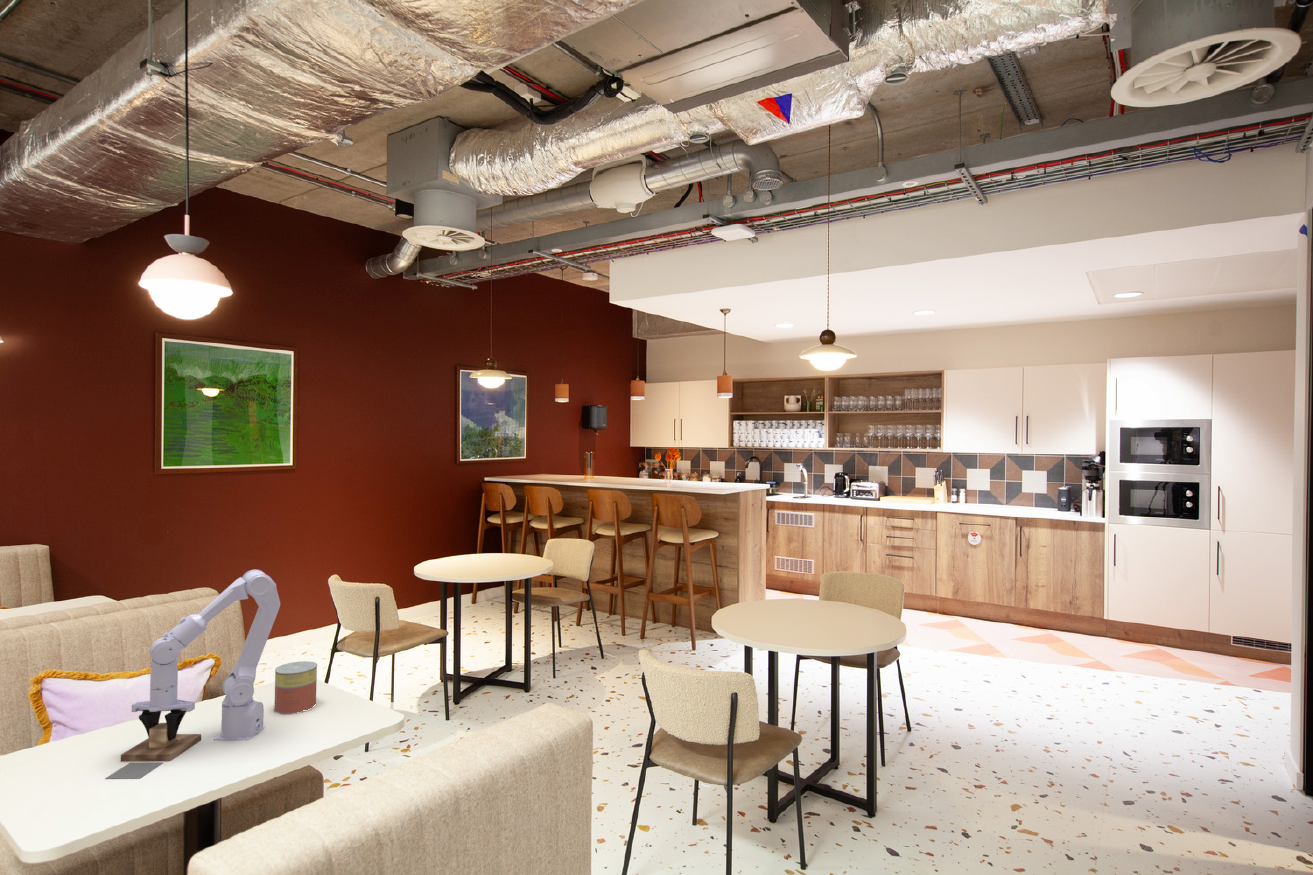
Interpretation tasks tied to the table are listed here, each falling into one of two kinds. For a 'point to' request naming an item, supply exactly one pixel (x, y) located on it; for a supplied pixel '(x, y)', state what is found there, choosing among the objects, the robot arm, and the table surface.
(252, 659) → the robot arm
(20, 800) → the table surface
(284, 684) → the canned food
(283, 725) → the table surface
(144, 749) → the pocket block
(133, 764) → the rubber mat
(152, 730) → the birch peg
